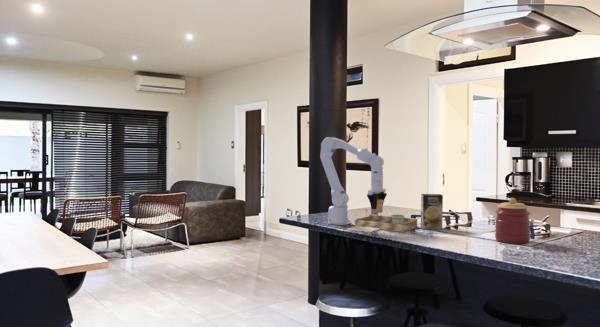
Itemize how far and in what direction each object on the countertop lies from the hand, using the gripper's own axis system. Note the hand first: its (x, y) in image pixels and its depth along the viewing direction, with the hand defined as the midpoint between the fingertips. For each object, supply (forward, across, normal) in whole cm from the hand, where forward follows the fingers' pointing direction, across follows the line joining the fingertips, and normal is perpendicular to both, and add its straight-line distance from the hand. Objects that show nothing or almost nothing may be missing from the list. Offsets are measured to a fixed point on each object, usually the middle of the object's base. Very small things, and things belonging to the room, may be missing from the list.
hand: (377, 208), depth 226 cm
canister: (+9, -1, -62) cm, 63 cm away
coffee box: (+9, +9, -24) cm, 27 cm away
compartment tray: (+9, 0, -4) cm, 10 cm away
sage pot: (+9, 0, -11) cm, 14 cm away
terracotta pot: (+2, 0, 0) cm, 2 cm away
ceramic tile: (+9, -13, 0) cm, 15 cm away
